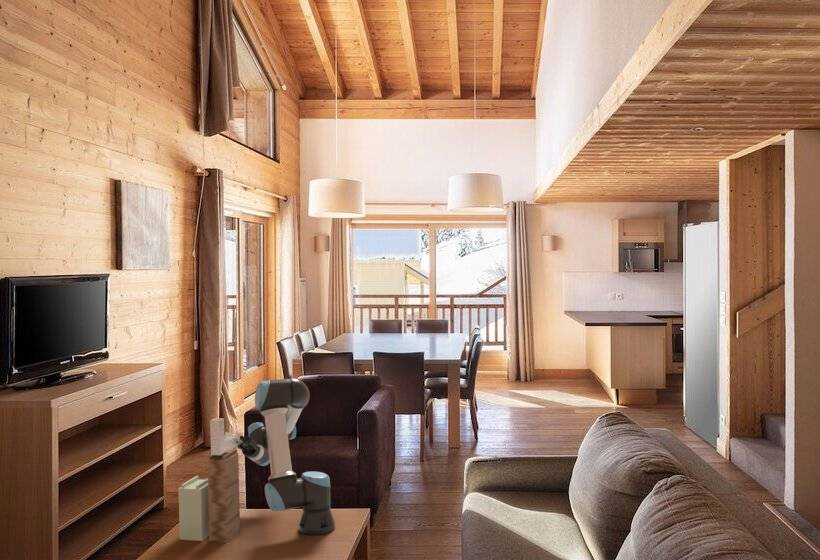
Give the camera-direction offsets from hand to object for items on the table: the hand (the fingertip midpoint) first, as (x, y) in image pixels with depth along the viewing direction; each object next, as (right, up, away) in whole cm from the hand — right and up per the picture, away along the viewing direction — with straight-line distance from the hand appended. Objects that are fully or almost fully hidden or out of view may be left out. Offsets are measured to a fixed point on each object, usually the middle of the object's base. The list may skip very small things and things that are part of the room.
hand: (230, 435), depth 275 cm
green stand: (-12, -40, -5) cm, 42 cm away
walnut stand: (0, -40, -7) cm, 41 cm away
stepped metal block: (-1, -5, -3) cm, 6 cm away
